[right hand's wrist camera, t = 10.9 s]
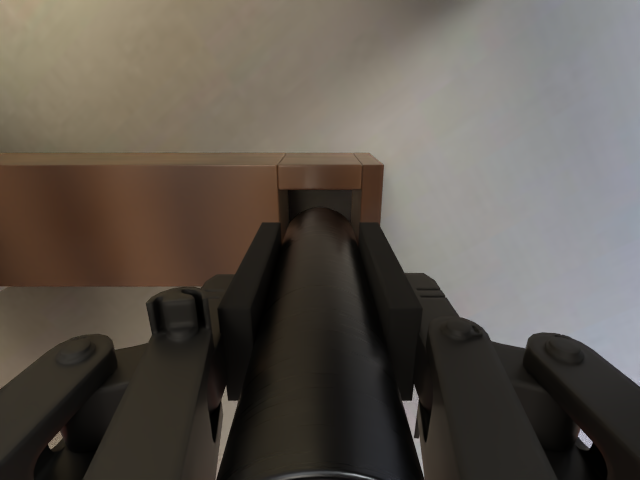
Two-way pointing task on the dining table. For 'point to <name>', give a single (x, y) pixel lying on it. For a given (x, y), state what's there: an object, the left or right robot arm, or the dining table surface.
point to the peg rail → (157, 212)
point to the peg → (320, 371)
